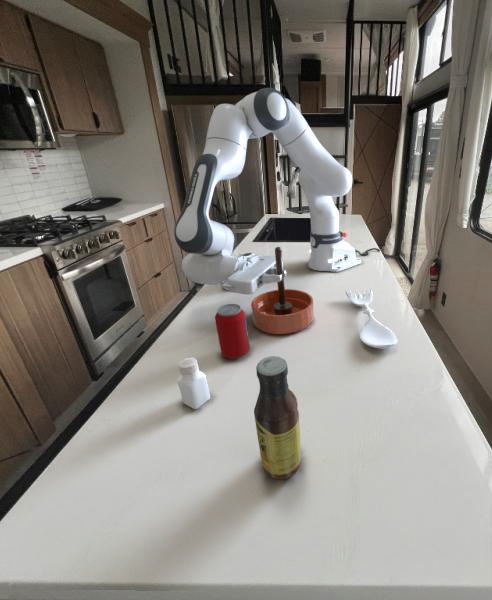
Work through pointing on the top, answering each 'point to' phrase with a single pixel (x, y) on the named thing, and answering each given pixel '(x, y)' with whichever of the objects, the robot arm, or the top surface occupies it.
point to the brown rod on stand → (281, 287)
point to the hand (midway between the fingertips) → (283, 275)
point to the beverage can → (232, 331)
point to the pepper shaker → (192, 384)
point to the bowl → (282, 323)
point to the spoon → (372, 324)
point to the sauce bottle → (277, 420)
